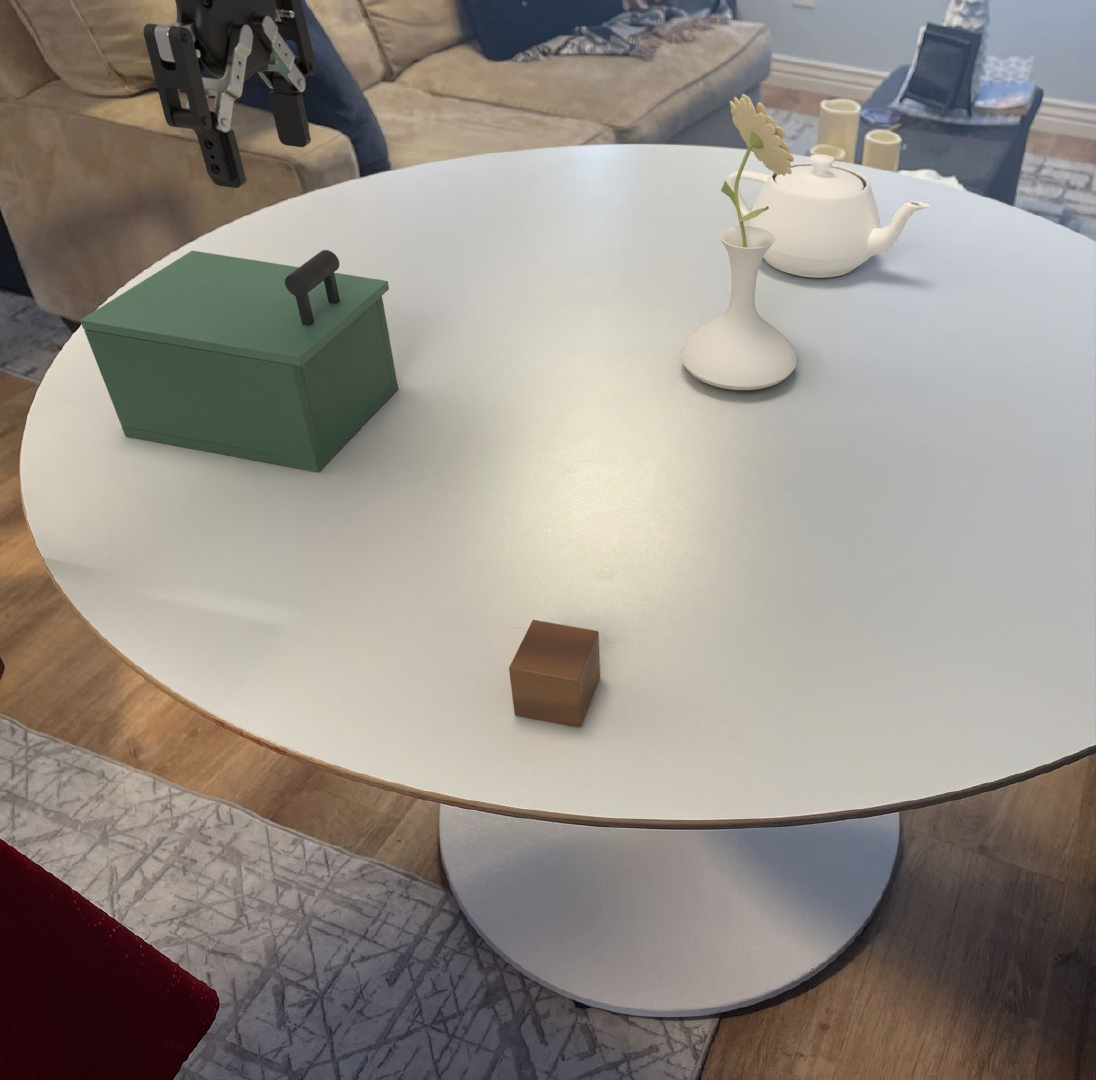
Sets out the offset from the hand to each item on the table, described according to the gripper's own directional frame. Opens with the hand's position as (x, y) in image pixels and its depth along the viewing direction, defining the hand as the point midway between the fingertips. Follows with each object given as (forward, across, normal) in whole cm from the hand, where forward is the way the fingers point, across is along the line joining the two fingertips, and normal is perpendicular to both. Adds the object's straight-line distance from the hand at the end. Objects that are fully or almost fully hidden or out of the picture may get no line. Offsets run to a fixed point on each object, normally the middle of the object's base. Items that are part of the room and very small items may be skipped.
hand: (264, 164), depth 72 cm
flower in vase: (+24, -22, +32) cm, 45 cm away
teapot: (+24, -49, +36) cm, 66 cm away
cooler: (+23, -2, -7) cm, 24 cm away
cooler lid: (+13, -2, -7) cm, 15 cm away
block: (+23, +24, +29) cm, 44 cm away
